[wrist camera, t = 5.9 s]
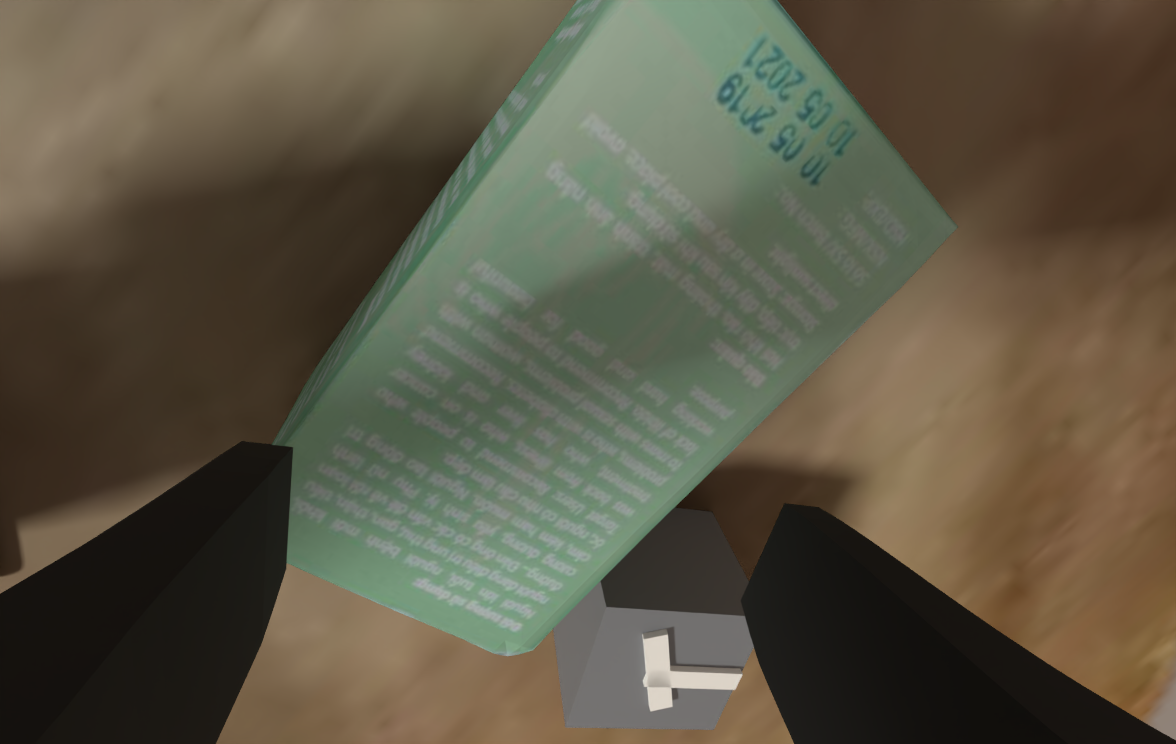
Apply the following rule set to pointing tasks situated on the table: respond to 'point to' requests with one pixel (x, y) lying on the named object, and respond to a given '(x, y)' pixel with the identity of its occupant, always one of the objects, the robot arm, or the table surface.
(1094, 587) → the table surface
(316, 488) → the box
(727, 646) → the charcoal cube
